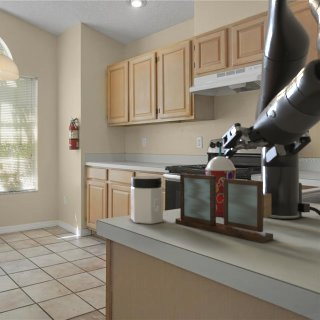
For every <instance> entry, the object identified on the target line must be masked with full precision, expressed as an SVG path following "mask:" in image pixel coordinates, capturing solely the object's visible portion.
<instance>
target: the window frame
mask: <svg viewBox="0 0 320 320" xmlns="http://www.w3.org/2000/svg"><path fill="white" fill-rule="evenodd" d="M179 185H180V186H179V197H180V198H179V199H180V200H179V201H180V202H179V203H180V204H179V205H180V206H179V207H180V208H179V209H180V211H179V212H180V214H179V215H180V216H179V217H177V218H175V224H178V225H182V226H187V227H191V228H196V229H199V230H203V231H208V232H213V233H217V234H222V235H226V236H231V237H235V238H240V239H245V240H248V241H253V242H256V243H261V244H264V243H266V242H269V241H272V240H274V234H273V233H271V232H266V231H263V232H257V231H252V230H247V229H242V228H237V227H232V226H228V225H224V223H220V222H217V216H216V176H213V175H206V174H196V173H195V174H194V173H179Z"/></svg>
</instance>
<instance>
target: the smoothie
mask: <svg viewBox="0 0 320 320" xmlns="http://www.w3.org/2000/svg"><path fill="white" fill-rule="evenodd" d="M222 152H223V151H222V146H218V155H217V156H215V157H213V158H211V159H210V160H209V161H208V163H207V165H206V167H205V168H204V169H205V175H213V176H216V217H224V179H236V172H237V171H236V170H237V168H236V167H235V165H234V163H233V162H232V160H231V159H226V156H222V155H223V154H222Z"/></svg>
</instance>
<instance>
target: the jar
mask: <svg viewBox="0 0 320 320" xmlns="http://www.w3.org/2000/svg"><path fill="white" fill-rule="evenodd" d="M130 179H131V186H130V219H131V220H132V221H133V222H134V224H135V223H136V224H144V225H145V224H146V225H153V224H159V223H163V222H164V188H163V186H162V182H163V181H162V177H161V176H154V175H153V176H151V175H143V176H142V175H139V176H132V177H131V178H130Z"/></svg>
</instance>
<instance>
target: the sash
mask: <svg viewBox="0 0 320 320" xmlns="http://www.w3.org/2000/svg"><path fill="white" fill-rule="evenodd" d="M270 216H271V194H267V193H265V194H263V181H261V180H250V179H236V178H235V179H224V216H223V224H224V225H228V226H232V227H237V228H242V229H247V230H252V231H257V232H264V219H267V218H270Z"/></svg>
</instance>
